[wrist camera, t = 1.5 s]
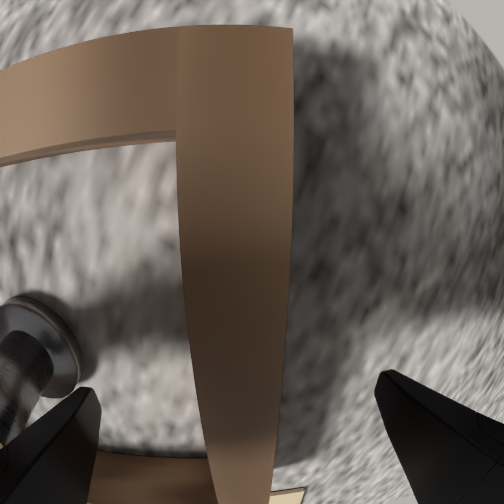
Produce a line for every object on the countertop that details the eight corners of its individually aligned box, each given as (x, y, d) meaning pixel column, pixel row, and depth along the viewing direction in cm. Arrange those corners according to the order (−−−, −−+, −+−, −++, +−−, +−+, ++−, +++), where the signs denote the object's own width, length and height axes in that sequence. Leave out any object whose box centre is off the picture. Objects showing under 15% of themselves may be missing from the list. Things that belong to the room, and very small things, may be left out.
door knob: (65, 298, 9) (-27, 418, 3) (95, 391, 10) (55, 510, 5) (-15, 294, 8) (-101, 376, 3) (19, 379, 10) (-34, 470, 4)
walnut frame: (263, 74, 8) (292, 28, 4) (257, 473, 13) (265, 525, 10) (-100, 161, 6) (-143, 172, 2) (-7, 436, 11) (-24, 470, 8)
